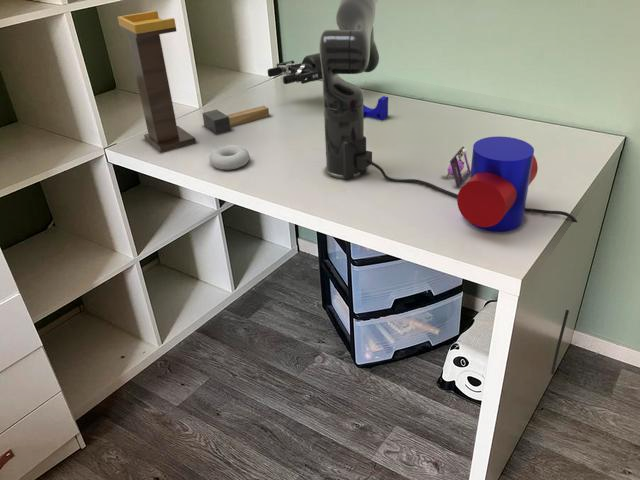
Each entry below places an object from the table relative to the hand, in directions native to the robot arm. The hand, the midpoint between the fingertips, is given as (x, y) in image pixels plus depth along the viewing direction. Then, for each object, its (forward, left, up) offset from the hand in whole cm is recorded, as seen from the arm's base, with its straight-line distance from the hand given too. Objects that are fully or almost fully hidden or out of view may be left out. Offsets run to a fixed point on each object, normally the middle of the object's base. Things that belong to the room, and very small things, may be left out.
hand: (275, 76), depth 181 cm
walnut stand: (0, +35, -10) cm, 36 cm away
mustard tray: (0, +35, +20) cm, 40 cm away
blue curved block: (-19, -18, -11) cm, 29 cm away
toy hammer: (0, +13, -10) cm, 17 cm away
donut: (-23, +29, -11) cm, 38 cm away
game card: (-65, -9, -11) cm, 67 cm away
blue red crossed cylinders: (-84, -2, -11) cm, 84 cm away
